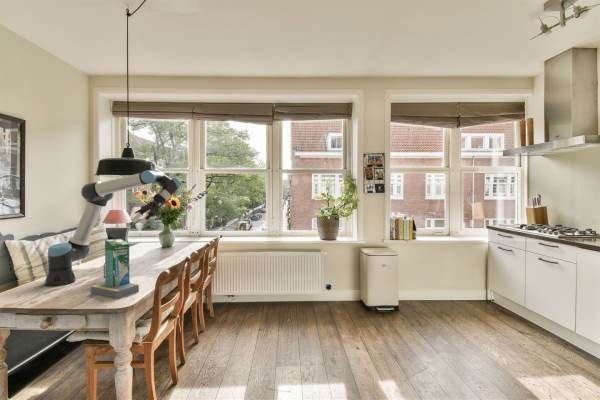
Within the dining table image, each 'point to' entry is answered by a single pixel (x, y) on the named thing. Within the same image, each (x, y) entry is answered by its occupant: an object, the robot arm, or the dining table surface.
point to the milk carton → (116, 262)
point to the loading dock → (114, 290)
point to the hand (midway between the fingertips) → (136, 222)
